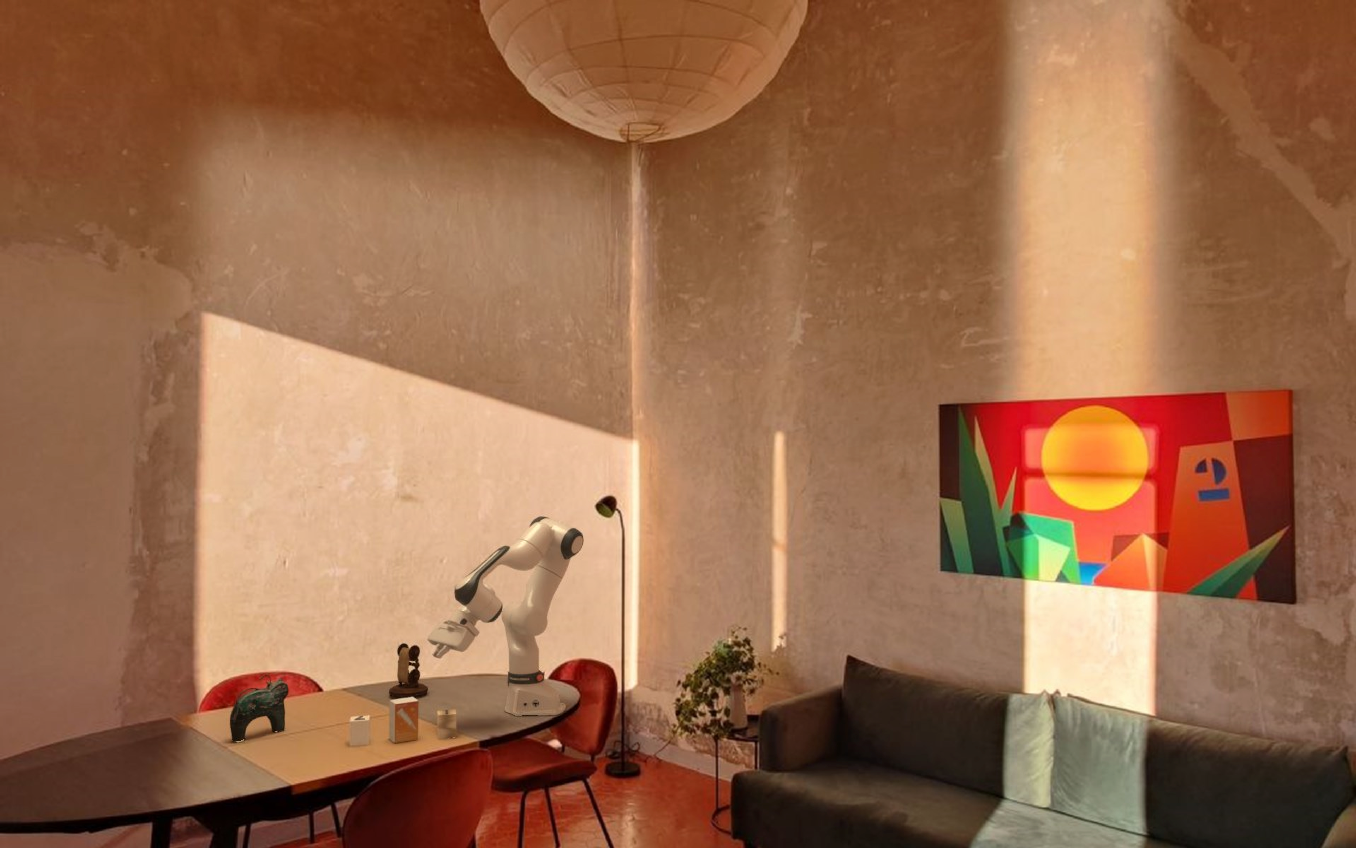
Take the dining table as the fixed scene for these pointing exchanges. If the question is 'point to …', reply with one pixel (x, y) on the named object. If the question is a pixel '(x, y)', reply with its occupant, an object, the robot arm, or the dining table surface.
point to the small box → (403, 719)
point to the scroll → (403, 675)
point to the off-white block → (359, 730)
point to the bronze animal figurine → (259, 708)
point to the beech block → (446, 724)
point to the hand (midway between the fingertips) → (436, 656)
